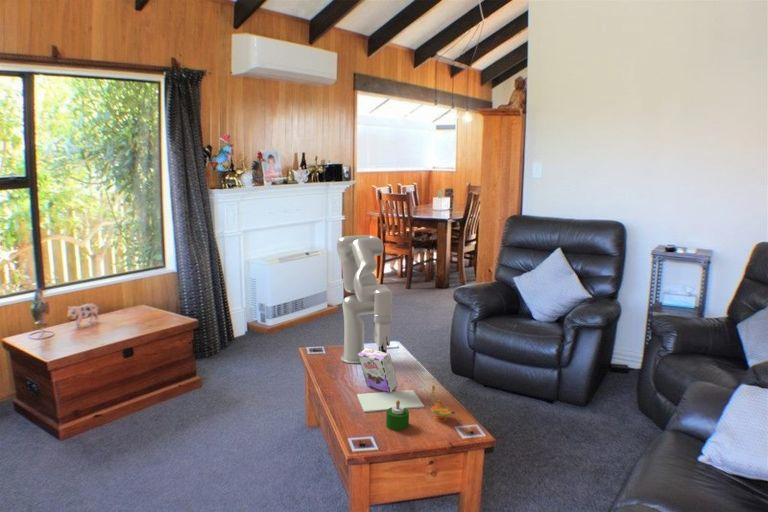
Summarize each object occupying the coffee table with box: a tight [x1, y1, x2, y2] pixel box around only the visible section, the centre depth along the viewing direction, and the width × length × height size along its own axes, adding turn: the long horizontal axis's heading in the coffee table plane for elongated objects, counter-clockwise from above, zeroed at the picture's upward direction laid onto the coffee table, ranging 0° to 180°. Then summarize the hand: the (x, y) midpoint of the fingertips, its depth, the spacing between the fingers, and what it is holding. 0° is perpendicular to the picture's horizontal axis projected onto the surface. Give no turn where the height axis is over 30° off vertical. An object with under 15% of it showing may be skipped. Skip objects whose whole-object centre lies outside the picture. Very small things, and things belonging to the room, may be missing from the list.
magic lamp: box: [430, 384, 457, 423], centre depth 219 cm, size 7×18×11 cm, turn 24°
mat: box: [356, 389, 425, 413], centre depth 236 cm, size 16×24×1 cm, turn 103°
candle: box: [385, 400, 410, 432], centre depth 214 cm, size 8×8×10 cm
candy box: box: [358, 347, 399, 393], centre depth 245 cm, size 14×6×16 cm, turn 47°
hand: (382, 359), depth 248 cm, fingers closed
